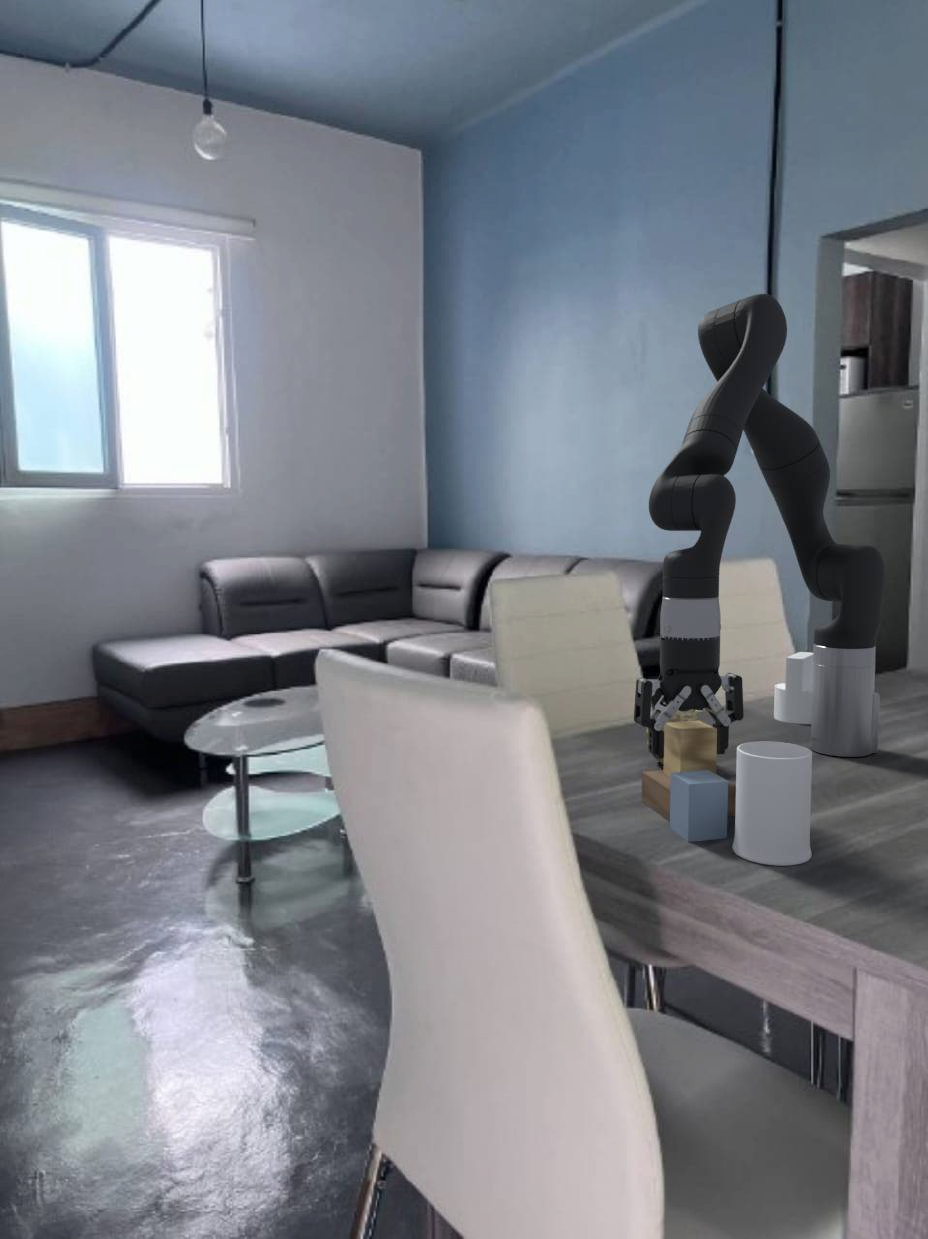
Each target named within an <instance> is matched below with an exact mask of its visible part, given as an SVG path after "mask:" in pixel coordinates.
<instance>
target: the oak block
mask: <svg viewBox="0 0 928 1239" xmlns="http://www.w3.org/2000/svg"><path fill="white" fill-rule="evenodd" d="M701 721H702V720H701ZM701 721H685V722H669V723H666V724H665V725H664V764H663V766H662V767H663V769H662V770H663V775H665V776H667V777H668V778H670V779H671V773H676V772H689V771H702V770H709V771H711V772H713V773H714V774H717V757H718V756H717V755H718V754H717V729H716V728H714V727H713V725H709V724H707V723H705V722H703V721H702V722H701Z"/></svg>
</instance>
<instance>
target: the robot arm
mask: <svg viewBox="0 0 928 1239" xmlns="http://www.w3.org/2000/svg"><path fill="white" fill-rule="evenodd" d="M787 324H788V322H787V318H786V314H785V312H784V310H783V307H782V305H781V304H780V302H778V300H777V299H776V298H775V297H774V296H773V295H770V294H768V293H758V294H757V293H756V294H754V295H750V296H746V297H745V298H742V299H739V300H736V301H733V302H731V303H729V304H725V305H723V306H721V307H719V308H716V309H713V310H710V311H708V312H707V313H705V314H703V315H702V317H701V318H700V319H699V322H698V325H697V326H698V327H697V336H698V337H697V338H698V342H699V345H700V349H701V353H702V356H703V358H704V360H705V362H706V364H707V366H708V368H709V370H710V372H711V373H712V374H713V377H714V379H715V380H716V383H715V384H714V385H713V386H712V387H711V389H710V390H709V391H708V392H707V393H706V394H705V395H704V397H703V398H702V399H701V400H700V402H699V403H698V405H697V406H696V408H695V410H694V412H693V413H692V416H691V417H690V419H689V423H688V426H687V428H686V431H685V434H684V438H683V440H682V443H681V446H680V448H679V449H678V450H677V452H676V453H675V454H674V456H673V457H672V458H671V460H670V461H669V462H668V463H667V465H666V466H665V467H664V468H663V470H662V472H661V473H660V474H659V475H658V477H657V478H656V480H655V482H654V484H653V486H652V488H651V491H650V494H649V497H648V498H649V499H648V512H649V513H648V514H649V515H650V518H651V521H652V522H653V524H654V525H655V526H656V527H658V528H659V529H661V530H663V531H669V532H682V531H683V532H694V531H695V532H700V533H699V537H698V539H697V540H696V542H695V544H694V545H693V546H690V547H686V548H682V549H676V550H672V551H670V552H668V553H667V554H666V555H665V556H664V559H663V564H662V602H661V607H660V615H659V616H660V617H659V619H660V623H659V624H660V625H659V626H660V627H659V628H660V629H659V630H660V632H659V633H660V634H659V669H660V672H659V676H658V678H657V679H647V678H643V677H638V678H637V679H636V681H635V695H634V707H633V708H634V710H633V721H634V722H635V723H636V724H637V725H638V724H639V725H640V726H642V727H644V728H646V727H647V728H648V740H647V741H648V746H647V747H648V748H647V749H648V751H649V754H651V753H652V754H651V756H652V757H653V758H654V757H655V758H657V759H663V758H664V731H663V730H662V728H663V727H664V725H665V724H666V723H667V721H668V720H669V718H671V717H673V716H674V714H675V713H676V712H677V710H679V711H689V710H691V709H694V710H696V711H704V710H705V711H706V712H708V715H709V716H710V717H711V718H712V720H713V721H714V723H712V727H714V728H716V729H717V755H724V754H725V752H726V750H728V748H729V741H730V740H729V735H730V733H729V732H730V730H729V729H730V726H731V724H732V723H734V722H736V721H739V722H740V721H742V720H743V719H744V714H745V713H744V690H743V689H744V688H743V678H742V676H741V675H740V674H739V675H738V674H735V673H732V672H727V673H726V674H725V675H720V672H719V669H720V665H721V629H722V624H721V622H722V621H721V606H720V567H721V560H722V555H723V553H724V552H723V550H724V547H725V544H726V543H725V542H726V539H727V535H728V533H729V529H730V526H731V524H732V520H733V517H734V513H735V509H736V500H737V499H736V498H737V496H736V491H735V489H734V486H733V484H732V482H731V481H730V480H729V479H728V478H727V477H726V475H727V474H728V473H729V472H730V470H731V469H732V467H733V465H734V462H735V459H736V455H737V452H738V448H739V446H740V442H741V439H742V436H743V432H744V435H745V437H746V439H747V441H748V443H749V445H750V447H751V450H752V452H753V455H754V457H755V460H756V463H757V465H758V467H759V469H760V472H761V473H762V474H761V475H762V476H763V478H764V481H765V483H766V485H767V488H768V489H769V491H770V493H771V495H772V497H773V499H774V501H775V504H776V506H777V508H778V511H779V514H780V515H781V516H780V517H781V518H782V520H783V522H784V526H785V528H786V531H787V533H788V535H789V538H790V542H791V544H792V547H793V548H792V549H793V550H794V554H795V557H796V560H797V564H798V567H799V571H800V573H801V576H802V579H803V581H804V583H805V586H806V588H807V589H808V591H809V592H810V594H812V595H813V596H814V597H815V598H817V599H819V600H822V601H826V602H833V603H834V602H835V603H836V602H837V603H840V607H839V608H840V609H839V612H838V615H837V616H836V618H834V619H833V620H831V621H829V622H825V623H821V624H819V625H817V626H816V627H815V628H814V631H813V651H812V653H813V684H812V717H811V724H810V725H811V726H810V750H811V751H814V752H815V753H819V754H823V755H828V756H834V757H847V758H857V757H865V756H870V755H871V754H873V753H878V749H879V724H880V722H879V720H880V703H881V702H880V699H881V698H880V693H878V692H875V679H876V678H875V677H876V675H875V674H876V650H877V649H876V648H877V647H876V645H877V638H878V634H879V632H880V629H881V625H882V624H881V623H882V616H883V606H884V605H883V604H884V593H885V586H886V567H885V562H884V558H883V555H882V553H881V552H880V551H879V550H878V548H877V547H874V546H872V545H869V544H852V543H851V544H847V543H846V544H845V543H843V544H842V543H837V542H836V541H834V538H833V537H832V535H831V533H830V531H829V528H828V526H827V523H826V520H825V515H824V507H825V502H826V498H827V494H828V490H829V486H830V482H831V481H830V479H831V468H830V463H829V461H828V458H827V455H826V453H825V451H824V448H823V446H822V443H821V441H820V439H819V437H818V435H817V433H816V431H815V429H814V428H813V427H812V425H811V424H810V423H809V422H807V421H806V420H805V419H804V418H803V417H801V416H800V415H799V414H798V413H796V412H795V411H793V410H792V409H790V408H789V407H788V406H786V405H784V403H782V402H780V401H779V400H777V399H776V398H774V397H773V396H772V395H771V394H770V393H768V392H767V391H766V389H764V387H765V385H766V383H767V381H768V380H769V377H770V375H771V374H772V371H773V370H774V368H775V366H776V364H777V363H778V361H779V359H780V358H781V355H782V353H783V351H784V348H785V345H786V342H787V341H786V340H787V335H788V325H787ZM720 688H722V690H723V691H725V692H724V695H725V696H724V697H725V710H724V707H723V704H721V702H720V701H719V700H718V698H717V697H716V694H717V693H718V691H719V689H720ZM657 690H659V692H660V693H661V694H662V695H661V697H660V698H659V700H658V701H657V702H656V703H655V705H654V710H653V711H652V698H653V696H654V695H655V694H656V691H657ZM651 712H652V713H651ZM655 758H654V759H655Z"/></svg>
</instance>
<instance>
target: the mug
mask: <svg viewBox="0 0 928 1239" xmlns="http://www.w3.org/2000/svg"><path fill="white" fill-rule="evenodd" d="M735 765H736V766H735V767H736V768H735V769H736V770H735V772H736V773H735V774H736V776H735V779H736V780H735V785H736V811H735V816H734V818H735V819H734V821H735V822H734V823H735V824H734V839H733V843H732V845H731V846H732V851H733V852H734V854H735V855H737V856H738V857H740V858H741V859H744V860H746V861H749V862H751V863H752V862H753V863H756V864H761V865H767V866H776V867H787V866H788V867H789V866H790V867H791V866H796V865H797V866H798V865H801V864H804V863H806V862H808V861H810V860H811V858H812V850H811V838H810V837H811V804H812V802H811V801H812V800H811V799H812V777H813V776H812V771H813V767H812V766H813V750H812V749H811V748H808V747H805V746H803V745H800V744H794V743H789V742H782V741H772V740H769V741H768V740H766V741H765V740H762V741H761V740H759V741H748V742H744V743H741V744H739V745H738V746H736V764H735Z"/></svg>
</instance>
